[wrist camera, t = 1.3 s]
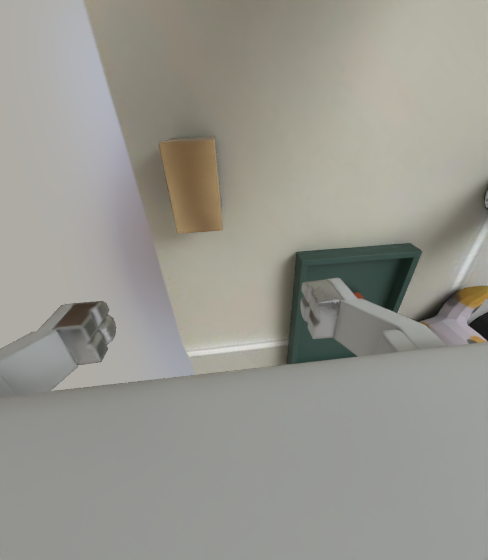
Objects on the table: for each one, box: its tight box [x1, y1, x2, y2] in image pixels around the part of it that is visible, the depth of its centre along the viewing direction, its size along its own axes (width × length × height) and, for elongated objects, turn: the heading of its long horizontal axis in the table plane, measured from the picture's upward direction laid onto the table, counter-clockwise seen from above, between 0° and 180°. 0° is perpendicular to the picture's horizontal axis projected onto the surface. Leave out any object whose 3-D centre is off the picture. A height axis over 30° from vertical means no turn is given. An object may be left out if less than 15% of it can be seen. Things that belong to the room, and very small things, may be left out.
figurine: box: [419, 286, 488, 346], centre depth 34 cm, size 12×17×15 cm
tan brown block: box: [159, 136, 223, 233], centre depth 22 cm, size 4×7×6 cm, turn 2°
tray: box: [287, 243, 422, 365], centre depth 35 cm, size 22×15×2 cm
